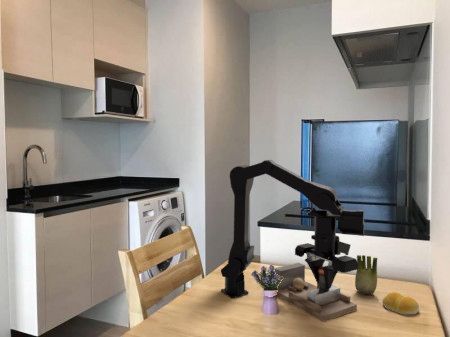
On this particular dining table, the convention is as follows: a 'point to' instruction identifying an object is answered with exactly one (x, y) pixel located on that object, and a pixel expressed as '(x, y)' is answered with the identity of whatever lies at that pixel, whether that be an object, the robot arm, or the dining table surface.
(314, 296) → the sliding jaw
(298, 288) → the walnut
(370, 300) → the dining table surface
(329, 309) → the base
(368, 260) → the fennel bulb
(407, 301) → the bread roll
